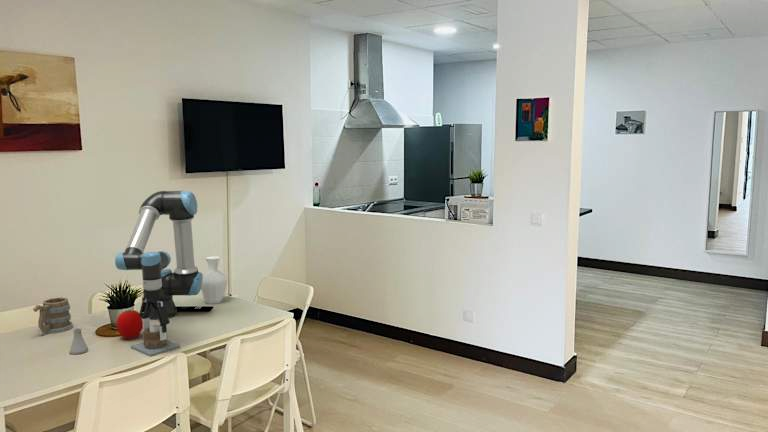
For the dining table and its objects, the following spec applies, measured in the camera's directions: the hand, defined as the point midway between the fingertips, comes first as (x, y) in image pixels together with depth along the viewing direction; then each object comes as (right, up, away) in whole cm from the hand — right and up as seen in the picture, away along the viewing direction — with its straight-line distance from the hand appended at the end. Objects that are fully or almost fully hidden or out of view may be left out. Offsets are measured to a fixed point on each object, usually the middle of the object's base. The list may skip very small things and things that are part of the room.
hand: (155, 336), depth 252 cm
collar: (0, -3, +1) cm, 3 cm away
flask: (-31, -6, -4) cm, 32 cm away
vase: (+5, +4, +72) cm, 72 cm away
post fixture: (0, -5, +1) cm, 5 cm away
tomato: (-16, -4, +14) cm, 22 cm away
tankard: (-57, -2, +22) cm, 61 cm away
